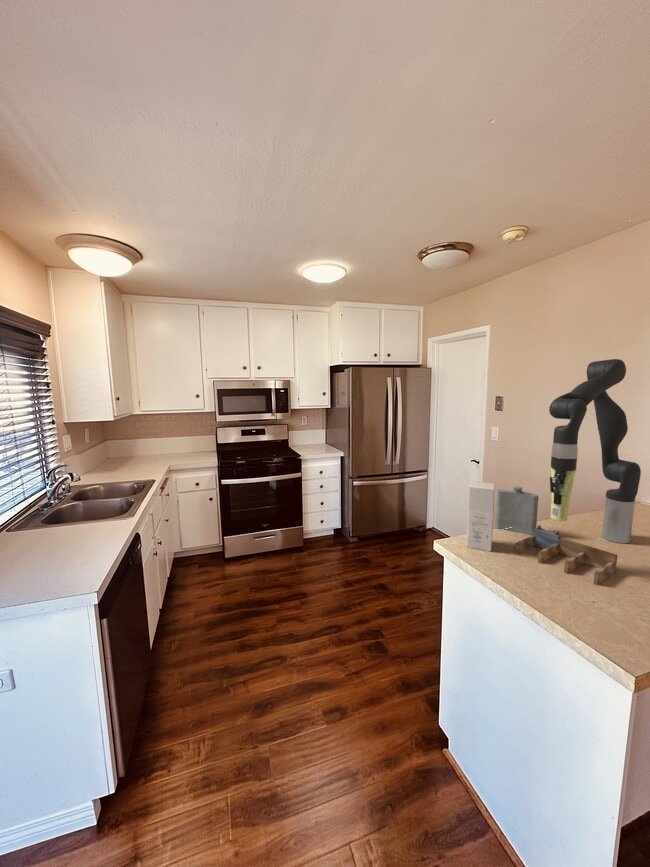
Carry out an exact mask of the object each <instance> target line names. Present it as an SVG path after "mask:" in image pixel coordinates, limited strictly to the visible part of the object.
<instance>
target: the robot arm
mask: <svg viewBox="0 0 650 867" xmlns="http://www.w3.org/2000/svg"><path fill="white" fill-rule="evenodd" d="M626 373H627V366H626V364H625V362H624V361H623V360H622V359H619V358H612V359H604V360H596V361H592V362H590V363H588V365H587V367H586V379H587V380H586V381H583V382H581V383H580V384H579V383H578V385H576V386H575V387H574V388H573V389H572V390H571V391H570V392H567V393H565V394H562V395H560V396H558V397H556V398H554V400H552V402H551V403H550V405H549V408H548V411H549V414H550V416H551V417H552V418H554V419H557V420H558V419H560V420H569V422H568V423H567V424H566V425H558V426H555V427H554V430H553V438H552V439H553V441H552V447H551V456H550V458H551V459H550V469H551V468H553V469H555V474H554V477H552V476H549V487H550V493H551V494H552V493H554V501H553V503H554V504H557V505H560V504H561V499H562V495H561V494H562V491H563V489H564V488H565V485H566V481H567V479H568V476H566V472H567V471H574V470H576V471H577V464H578V450H579V448H578V442H579V441H578V439H579V431H580V428H581V426H582V423H583V421H584V419H585V415H586V414H587V410H588V409H587V408H588V407H587V406H589V404H591V403H592V401H593V405H594V411H595V417H596V425H597V431H598V436H599V441H600V448H601V463H602V464H601V467H602V474H603V476H604V477H605V479H606V480H608V481H611V482H615V483H619V487H618V488H612V489H611V488H610V489H607V490H606V492H605V501H604V512H603V524H602V532H601V533H602V534H601V537H602V538H603V539H604V540H608V541H610V542H614V543H617V544H618V543H619V544H630V543H631V541H632V540H631V539H632V532H633V523H634V522H633V521H634V511H635V505H636V504H635V503H636V502H635V501H636V497H637V494H638V492H639V486H640V481H641V475H642V474H641V473H642V471H641V467H640V465H639V463H637V462H634V461H630V460H629V461H628V460H623V459H620V458H619V452H618V451H619V447H620V444H621V443H622V441H623V440H624V439H625V437H626V436H627V433H628V429H629V428H628V421H627V415H626V412H625V411H624V410H623V408H622V407H620V405H619V404H618V403H617V402H615V401H614V399H612V398H611V397H610V396H609V394H608V392H607V390H609V389H611V388H612V387H614V386H616V385H618V384H620V383H621V382H622V381H624V378H625V377H626ZM574 481H575V479H574V480H573V482H574ZM559 484H560V485H559ZM573 486H574V484H573V485H572V487H573ZM553 487H554V488H553ZM556 489H557V490H556Z"/></svg>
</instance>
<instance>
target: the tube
mask: <svg viewBox="0 0 650 867" xmlns="http://www.w3.org/2000/svg"><path fill="white" fill-rule="evenodd" d="M550 471H551V477H554V474H555V469H553V468H551V467H550ZM576 472H577V469H576V470H574V471H567V472H566V476H568V479H567V481H566V485H565V488H564V489H563V491H562V494H561V495H562V499H561V504H560V505H557V504H554V503H553V501H554V493H552V492H551V505H550V519H552V520H553V521H557V522H567V521H568V515H569V508H570V501H571V495H572V494H571V493H572V489H573V486H574V481H575V476H576V475H575V474H576ZM573 480H574V481H573ZM559 485H560V484H559ZM572 485H573V486H572ZM553 488H554V487H553ZM556 490H557V489H556Z"/></svg>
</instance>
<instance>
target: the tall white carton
mask: <svg viewBox="0 0 650 867" xmlns="http://www.w3.org/2000/svg"><path fill="white" fill-rule="evenodd" d="M468 490H469V491H468V492H469V493H468V510H467V512H468V513H467V531H466V533H467V534H466V537H467V538H466V548H469V549H473V550H474V549H476V550H481V551H485V552H492V546H493V535H494V533H493V532H494V531H493V530H494V513H495V493H496V491H495V490H496V483H493V482H483V481H482V482H481V481H471V483H470V484H469V489H468Z"/></svg>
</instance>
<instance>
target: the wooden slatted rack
mask: <svg viewBox="0 0 650 867" xmlns="http://www.w3.org/2000/svg"><path fill="white" fill-rule="evenodd" d="M514 544H515V545H514V554H516V555H517V554H520V553H522V552H525V551H526V550H528V549H531V548H533V547H537V548H541V550H539V551H538V558H537V562H538V563H540V564H542V563H544V562H546V561H548V560H549V559H551V558H554V557H555V556H557V555H561V556H563V557H567V558H568V559H567V560H566V559H565V561H564V569H563V572H564V573H565V574H569V573H571V572H573V571H574V570H576V569H577V568H579V567H581V566H582V565H583V564H587V565H589V566H592V567H595V568H598V569H596V570H595V571H594V576H593V584H594V585H596V586H598V585H600V583H602V582H604V581H605V580H606V579H608V578H609V577H610V576H612V575H613V574H615V573H616V572H617V564H618V554H615V553H612V552H608V551H606V550H602V549H599V548H596V547H593V546H591V545H586V544H584V543H581V542H577V541H574V540H571V539H568V538H564V537H562V534H561V533H560V531H559V530H554V531H550V530H548V529H546V528H542V525H540V524H539V525H536V528H535V530H533V535H532V536H531V535H529V536H528V537H526V538H524V539H522V540H519V541H517V542H515V543H514Z"/></svg>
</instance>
